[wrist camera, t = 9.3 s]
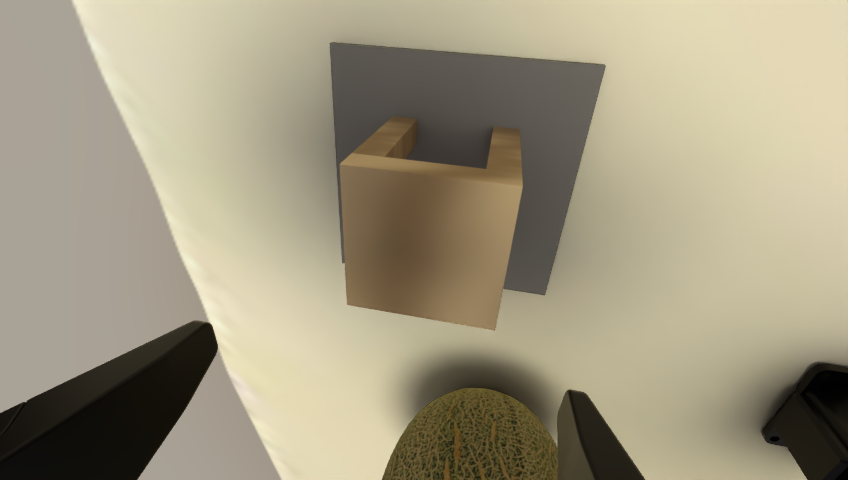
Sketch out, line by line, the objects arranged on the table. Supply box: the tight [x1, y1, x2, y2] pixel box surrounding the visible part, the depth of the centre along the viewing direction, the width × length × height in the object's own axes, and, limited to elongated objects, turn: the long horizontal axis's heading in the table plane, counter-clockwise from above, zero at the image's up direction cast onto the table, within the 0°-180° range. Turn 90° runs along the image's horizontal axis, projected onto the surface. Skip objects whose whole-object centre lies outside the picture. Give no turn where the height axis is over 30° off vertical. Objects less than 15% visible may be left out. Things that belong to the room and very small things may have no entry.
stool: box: [340, 116, 523, 330], centre depth 17 cm, size 6×6×7 cm
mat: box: [330, 42, 606, 295], centre depth 21 cm, size 12×12×1 cm
